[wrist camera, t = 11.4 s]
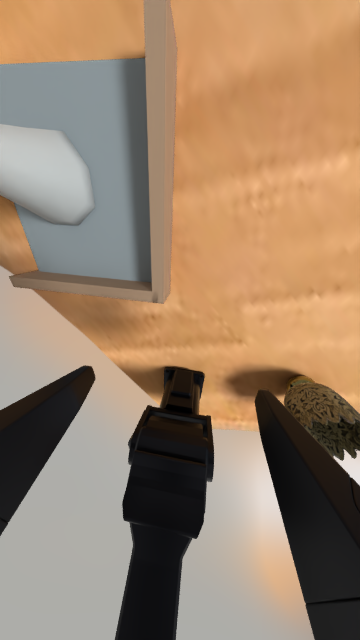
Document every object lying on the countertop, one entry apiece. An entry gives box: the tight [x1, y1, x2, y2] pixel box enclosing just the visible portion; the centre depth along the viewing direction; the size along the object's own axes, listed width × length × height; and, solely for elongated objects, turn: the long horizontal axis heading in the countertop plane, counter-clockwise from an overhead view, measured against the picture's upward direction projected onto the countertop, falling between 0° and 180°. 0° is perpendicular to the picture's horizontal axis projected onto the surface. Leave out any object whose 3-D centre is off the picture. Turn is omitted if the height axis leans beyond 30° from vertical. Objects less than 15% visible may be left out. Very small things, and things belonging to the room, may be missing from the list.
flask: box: [0, 124, 95, 226], centre depth 11 cm, size 7×7×10 cm
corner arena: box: [0, 0, 177, 304], centre depth 15 cm, size 18×18×4 cm
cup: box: [284, 376, 360, 461], centre depth 20 cm, size 8×7×8 cm
